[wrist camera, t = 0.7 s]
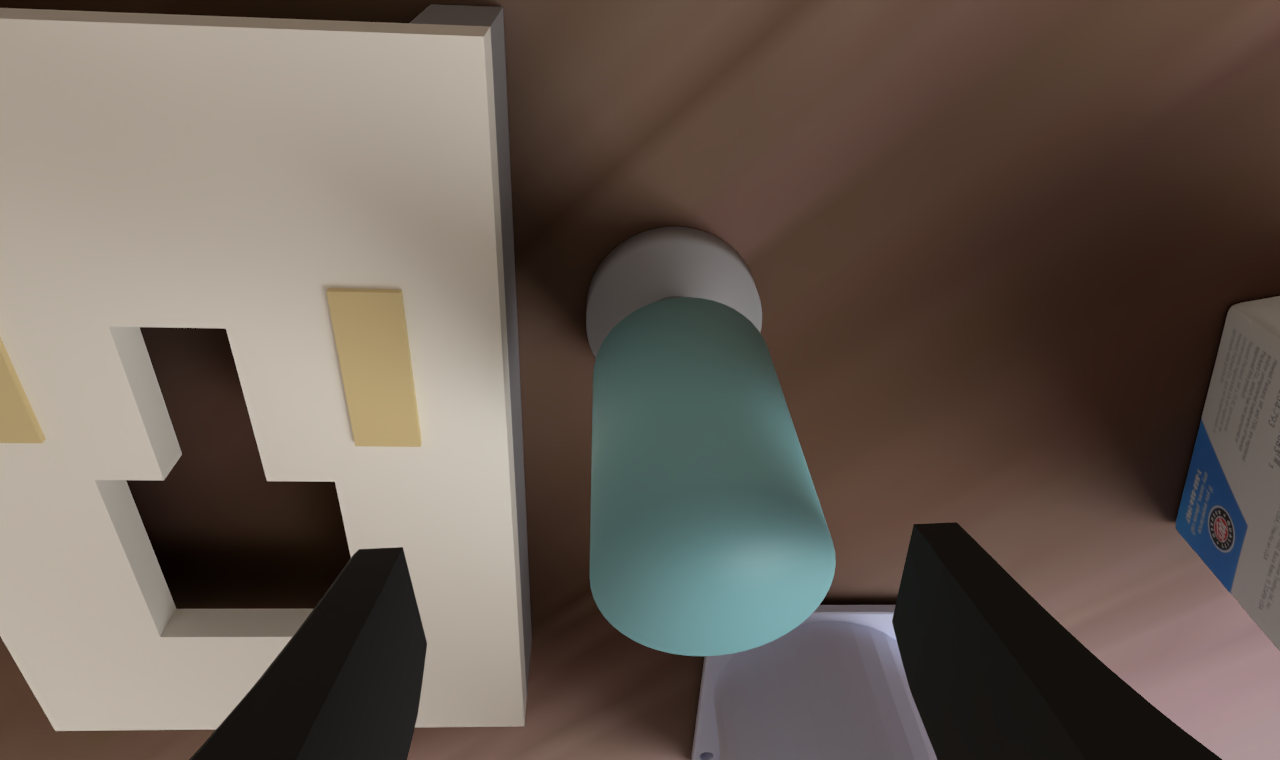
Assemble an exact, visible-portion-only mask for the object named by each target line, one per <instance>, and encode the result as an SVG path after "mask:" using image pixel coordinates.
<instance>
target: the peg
mask: <svg viewBox="0 0 1280 760" xmlns="http://www.w3.org/2000/svg"><path fill="white" fill-rule="evenodd" d="M761 327H762V307H761V302H760V298H759V295H758V292H757V289H756V286H755V283H754V281H753V278H752V275H751V273H750V270H749V268H748V267H747V265H746V263H745V261H744V260H743V259H742V257H741V256H740V255H739V254H738V252H737V251H735V250H734V249H733V248H732V247H731V246H730V245H729V244H727V243H726V242H725V241H723V240H722V239H720V238H718V237H716V236H714V235H712V234H710V233H707V232H705V231H702V230H698V229H694V228H689V227H678V226H675V227H662V228H655V229H651V230H648V231H644V232H641V233H639V234H637V235H635V236H632V237H630V238H629V239H627V240H625V241H624V242H622V243H621V244H619V245H618V246H617V247H615V248H614V249H613V250H612V251H611V252H610V253H609V254H608V255H607V256H606V257H605V258H604V260H603V261H602V262H601V264H600V265H599V266H598V268H597V270H596V272H595V273H594V275H593V278H592V280H591V283H590V286H589V291H588V296H587V313H586V329H587V336H588V341H589V344H590V347H591V350H592V352H593V354H594V356H595V358H596V360H595V364H594V373H593V416H592V471H591V526H590V587H591V591H592V594H593V598H594V600H595V602H596V604H597V607H598V609H599V610H600V611H601V613H602V614H603V616H604V617H605V618H606V619H607V620H608V622H609V623H610V624H611V625H612V626H613V627H615V628H616V629H617V630H618V631H620V632H621V633H622V634H623V635H625V636H627V637H628V638H630V639H632V640H633V641H635V642H638V643H640V644H642V645H644V646H646V647H649V648H652V649H656V650H659V651H663V652H667V653H671V654H678V655H686V656H718V655H726V654H733V653H737V652H742V651H746V650H750V649H753V648H756V647H759V646H762V645H764V644H767V643H769V642H772V641H774V640H776V639H778V638H780V637H781V636H783V635H785V634H787V633H788V632H790V631H791V630H793V629H794V628H796V627H797V626H799V625H800V624H801V623H802V622H804V621H805V620H806V619H807V618H808V617H809V616H810V615H811V614H812V613H813V612H814V611H815V610H816V609H817V608H818V606H819V605H820V604H821V602H822V601H823V599H824V598H825V596H826V594H827V592H828V590H829V588H830V586H831V583H832V580H833V577H834V572H835V565H836V562H835V550H834V546H833V541H832V538H831V535H830V532H829V529H828V526H827V523H826V520H825V517H824V514H823V511H822V509H821V506H820V503H819V500H818V497H817V494H816V491H815V488H814V485H813V482H812V479H811V476H810V473H809V470H808V467H807V464H806V461H805V458H804V455H803V452H802V449H801V446H800V443H799V440H798V437H797V434H796V431H795V428H794V425H793V422H792V419H791V416H790V413H789V410H788V407H787V404H786V401H785V398H784V395H783V392H782V389H781V386H780V383H779V380H778V377H777V374H776V371H775V368H774V365H773V362H772V359H771V356H770V353H769V350H768V348H767V345H766V343H765V340H764V338H763V337H762V335H761V334H760V332H761Z"/></svg>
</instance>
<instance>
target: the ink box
mask: <svg viewBox="0 0 1280 760" xmlns="http://www.w3.org/2000/svg"><path fill="white" fill-rule="evenodd" d="M1176 530H1177V531H1178V532H1179V533H1180V535H1181V536H1182V537H1183V538H1184V539H1185V540H1186V541H1187V543H1188V544H1189V545H1190V546H1191V547H1192V549H1193V550H1194V551H1195V552H1196V553H1197V554H1198V555H1199V557H1200V558H1201V559H1202V560H1203V562H1204V563H1205V564H1206V565H1207V566H1208V567H1209V569H1210V570H1211V571H1212V572H1213V573H1214V575H1215V576H1216V577H1217V578H1218V579H1219V580H1220V582H1221V583H1222V584H1223V585H1224V587H1225V588H1226V589H1227V590H1228V591H1229V592H1230V593H1231V594H1232V595H1233V597H1234V598H1235V599H1236V600H1237V601H1238V602H1239V604H1240V605H1241V606H1242V607H1243V609H1244V610H1245V611H1246V612H1247V613H1248V615H1249V616H1250V617H1251V618H1252V619H1253V621H1254V622H1255V623H1256V624H1257V625H1258V626H1259V627H1260V629H1261V630H1262V631H1263V632H1264V633H1265V634H1266V636H1267V637H1268V638H1269V639H1270V640H1271V641H1272V643H1273V644H1274V645H1275V646H1276V647H1277V648H1278V650H1279V651H1280V296H1276V297H1271V298H1265V299H1259V300H1254V301H1248V302H1242V303H1239V304H1235V305H1233V306H1232V307H1231V308H1230V309H1229V311H1228V313H1227V317H1226V321H1225V325H1224V329H1223V333H1222V337H1221V341H1220V345H1219V349H1218V353H1217V357H1216V361H1215V365H1214V369H1213V373H1212V377H1211V381H1210V385H1209V389H1208V393H1207V397H1206V401H1205V405H1204V409H1203V413H1202V417H1201V422H1200V427H1199V431H1198V434H1197V438H1196V442H1195V446H1194V450H1193V454H1192V458H1191V462H1190V466H1189V470H1188V474H1187V479H1186V482H1185V486H1184V490H1183V494H1182V498H1181V502H1180V507H1179V511H1178V515H1177V519H1176Z"/></svg>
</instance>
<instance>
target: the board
mask: <svg viewBox="0 0 1280 760" xmlns="http://www.w3.org/2000/svg"><path fill="white" fill-rule="evenodd" d="M140 327H162V328H220V329H226V331H227V335H228V339H229V342H230V346H231V350H232V354H233V357H234V361H235V365H236V368H237V372H238V376H239V380H240V383H241V387H242V391H243V394H244V398H245V402H246V406H247V409H248V413H249V417H250V420H251V424H252V428H253V431H254V435H255V439H256V443H257V446H258V450H259V454H260V457H261V461H262V465H263V469H264V472H265V476H266V480H267V481H305V482H335V485H336V490H337V495H338V499H339V504H340V509H341V514H342V518H343V523H344V528H345V533H346V537H347V542H348V547H349V552H350V556H351V557H352V556H353V555H354V554H355V553H356V552H357V551H358V550H359V549H375V548H397V547H403V550H404V554H405V558H406V562H407V566H408V570H409V574H410V578H411V582H412V586H413V590H414V594H415V598H416V602H417V606H418V610H419V613H420V617H421V621H422V625H423V629H424V633H425V637H426V641H427V649H426V657H425V665H424V673H423V681H422V688H421V695H420V702H419V709H418V716H417V720H416V724H415V727H508V726H524V724H525V712H526V701H527V690H528V679H529V668H530V656H531V645H532V629H531V607H530V585H529V563H528V542H527V520H526V498H525V476H524V454H523V432H522V410H521V388H520V366H519V345H518V323H517V301H516V279H515V257H514V235H513V213H512V191H511V170H510V148H509V126H508V104H507V82H506V60H505V38H504V16H503V7H489V6H463V5H438V4H430V5H429V6H428V7H427V8H426V9H425V10H424V11H422V12H421V13H420V14H419V15H418V16H417V17H416V18H414V19H413V20H412V21H411V22H410V23H386V22H359V21H333V20H307V19H280V18H254V17H228V16H201V15H175V14H149V13H123V12H96V11H70V10H44V9H17V8H0V636H1V638H2V640H3V642H4V643H5V645H6V647H7V648H8V650H9V652H10V654H11V655H12V657H13V659H14V661H15V662H16V664H17V666H18V667H19V669H20V671H21V673H22V674H23V676H24V678H25V680H26V681H27V683H28V685H29V686H30V688H31V690H32V692H33V693H34V695H35V697H36V699H37V700H38V702H39V704H40V705H41V707H42V709H43V711H44V712H45V714H46V716H47V717H48V719H49V721H50V723H51V724H52V726H53V728H54V730H55V731H99V730H202V729H217V728H218V727H219V726H220V725H221V723H222V722H223V721H224V720H225V719H226V718H227V716H228V715H229V714H230V713H231V712H232V711H233V710H234V708H235V707H236V706H237V705H238V704H239V703H240V701H241V700H242V699H243V698H244V697H245V696H246V694H247V693H248V692H249V691H250V690H251V689H252V687H253V686H254V685H255V684H256V682H257V681H258V680H259V679H260V677H261V676H262V675H263V674H264V672H265V671H266V670H267V669H268V667H269V666H270V665H271V664H272V662H273V661H274V660H275V659H276V657H277V656H278V655H279V653H280V652H281V651H282V650H283V648H284V647H285V646H286V645H287V643H288V642H289V641H290V640H291V638H292V637H293V636H294V634H295V633H296V632H297V631H298V629H299V628H300V627H301V625H302V624H303V623H304V621H305V620H306V619H307V617H308V616H309V615H310V613H311V612H312V611H313V609H176V606H175V604H174V601H173V599H172V596H171V594H170V591H169V589H168V586H167V583H166V581H165V578H164V576H163V573H162V571H161V568H160V566H159V563H158V560H157V558H156V555H155V553H154V550H153V548H152V545H151V543H150V540H149V538H148V535H147V532H146V530H145V527H144V525H143V522H142V520H141V517H140V515H139V512H138V509H137V507H136V504H135V502H134V499H133V497H132V494H131V492H130V489H129V486H128V484H127V481H126V480H159V481H164V480H165V478H166V477H167V476H168V474H169V473H170V471H171V470H172V468H173V467H174V466H175V464H176V463H177V461H178V460H179V458H180V457H181V456H182V452H181V449H180V446H179V443H178V440H177V438H176V435H175V432H174V429H173V426H172V423H171V420H170V417H169V414H168V411H167V408H166V405H165V402H164V399H163V396H162V393H161V390H160V387H159V384H158V381H157V378H156V375H155V372H154V369H153V366H152V363H151V360H150V357H149V354H148V351H147V348H146V345H145V342H144V339H143V336H142V333H141V330H140Z"/></svg>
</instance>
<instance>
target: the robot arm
mask: <svg viewBox="0 0 1280 760" xmlns="http://www.w3.org/2000/svg"><path fill="white" fill-rule="evenodd" d="M426 649H427V641H426V637H425V633H424V629H423V625H422V621H421V617H420V613H419V610H418V606H417V602H416V598H415V594H414V590H413V586H412V582H411V578H410V574H409V570H408V566H407V562H406V558H405V554H404V550H403V547H397V548H375V549H359V550H358V551H357V552H356V553H355V554H354V555H353V556H352V557H351V558H350V560H349V561H348V563H347V564H346V565H345V567H344V568H343V569H342V571H341V572H340V574H339V575H338V576H337V578H336V579H335V581H334V582H333V583H332V585H331V586H330V587H329V589H328V590H327V592H326V593H325V594H324V596H323V597H322V598H321V600H320V601H319V602H318V604H317V605H316V607H315V608H314V609H313V611H312V612H311V613H310V615H309V616H308V617H307V619H306V620H305V621H304V623H303V624H302V625H301V627H300V628H299V629H298V631H297V632H296V633H295V634H294V636H293V637H292V638H291V640H290V641H289V642H288V643H287V645H286V646H285V647H284V648H283V650H282V651H281V652H280V653H279V655H278V656H277V657H276V659H275V660H274V661H273V662H272V664H271V665H270V666H269V667H268V669H267V670H266V671H265V672H264V674H263V675H262V676H261V677H260V679H259V680H258V681H257V682H256V684H255V685H254V686H253V687H252V689H251V690H250V691H249V692H248V693H247V694H246V696H245V697H244V698H243V699H242V700H241V701H240V703H239V704H238V705H237V706H236V707H235V708H234V710H233V711H232V712H231V713H230V714H229V715H228V716H227V718H226V719H225V720H224V721H223V722H222V723H221V725H220V726H219V727H218V728H217V729H216V730H215V732H214V733H213V734H212V735H211V736H210V737H209V738H208V740H207V741H206V742H205V743H204V744H203V745H202V746H201V748H200V749H199V750H198V751H197V752H196V753H195V754H194V755H193V756H192V757H191V758H190V760H407V756H408V752H409V748H410V744H411V740H412V736H413V732H414V728H415V724H416V720H417V716H418V709H419V702H420V695H421V688H422V681H423V673H424V665H425V657H426ZM691 760H1222V759H1221V758H1219V757H1218V756H1217V755H1215V754H1214V753H1213V752H1211V751H1210V750H1209V749H1207V748H1206V747H1205V746H1203V745H1202V744H1201V743H1200V742H1198V741H1197V740H1196V739H1194V738H1193V737H1192V736H1190V735H1189V734H1188V733H1186V732H1185V731H1184V730H1182V729H1181V728H1180V727H1179V726H1177V725H1176V724H1175V723H1174V722H1172V721H1171V720H1170V719H1169V718H1167V717H1166V716H1165V715H1164V714H1162V713H1161V712H1160V711H1159V710H1157V709H1156V708H1155V707H1154V706H1152V705H1151V704H1150V703H1149V702H1148V701H1147V700H1145V699H1144V698H1143V697H1142V696H1141V695H1140V694H1138V693H1137V692H1136V691H1135V690H1134V689H1132V688H1131V687H1130V686H1129V685H1128V684H1127V683H1125V682H1124V681H1123V680H1122V679H1121V678H1119V677H1118V676H1117V675H1116V674H1115V673H1114V672H1112V671H1111V670H1110V669H1109V668H1108V667H1107V666H1106V665H1104V664H1103V663H1102V662H1101V661H1100V660H1099V659H1098V658H1097V657H1095V656H1094V655H1093V654H1092V653H1091V652H1090V651H1089V650H1088V649H1087V648H1086V647H1084V646H1083V645H1082V644H1081V643H1080V642H1079V641H1078V640H1077V639H1076V638H1075V637H1074V636H1073V635H1072V634H1070V633H1069V632H1068V631H1067V630H1066V629H1065V628H1064V627H1063V626H1062V625H1061V624H1060V623H1059V622H1058V621H1057V620H1055V619H1054V618H1053V617H1052V616H1051V615H1050V614H1049V613H1048V612H1047V611H1046V610H1045V609H1044V608H1043V607H1042V606H1041V605H1040V604H1039V603H1038V602H1037V601H1036V600H1035V599H1034V598H1032V597H1031V596H1030V595H1029V594H1028V593H1027V592H1026V591H1025V590H1024V589H1023V588H1022V587H1021V586H1020V585H1019V584H1018V583H1017V582H1016V581H1015V580H1014V579H1013V578H1012V577H1011V576H1010V575H1009V574H1008V573H1007V572H1006V571H1005V570H1004V569H1003V568H1002V567H1001V566H1000V565H999V564H998V563H997V562H996V561H995V560H994V559H993V558H992V557H991V556H990V555H989V554H988V553H987V552H986V551H985V550H984V549H983V548H982V547H981V546H980V545H979V544H978V543H977V542H976V541H975V540H974V539H973V538H972V537H971V536H970V535H969V534H968V533H967V532H966V531H965V530H964V529H963V528H962V527H961V526H960V525H959V524H958V523H935V524H914V526H913V531H912V535H911V540H910V544H909V548H908V553H907V557H906V562H905V566H904V571H903V575H902V579H901V584H900V588H899V593H898V597H897V601H896V605H819V606H818V608H817V609H816V610H815V611H814V612H813V613H812V614H811V615H810V616H809V617H808V618H807V619H806V620H805V621H804V622H802V623H801V624H800V625H799V626H797V627H796V628H794V629H793V630H791V631H790V632H788V633H787V634H785V635H783V636H781V637H780V638H778V639H776V640H774V641H772V642H769V643H767V644H764V645H762V646H759V647H756V648H753V649H750V650H746V651H742V652H737V653H733V654H726V655H718V656H704V664H703V672H702V679H701V687H700V695H699V702H698V710H697V718H696V726H695V733H694V741H693V749H692V756H691Z"/></svg>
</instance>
